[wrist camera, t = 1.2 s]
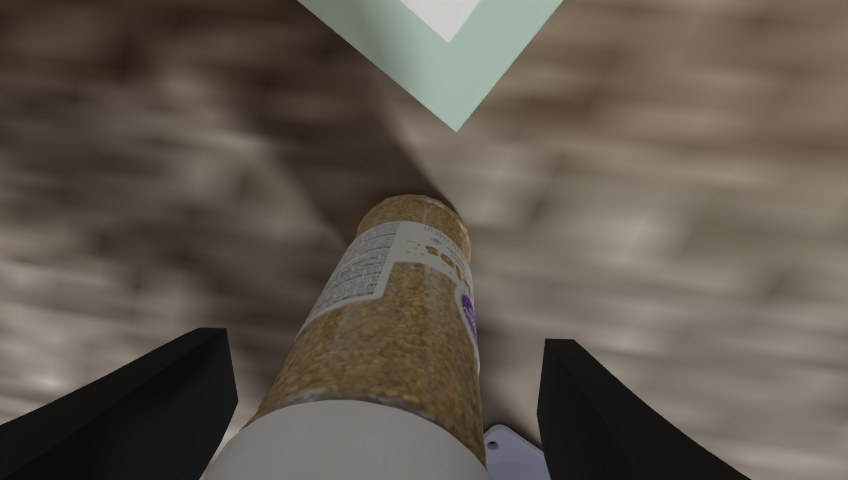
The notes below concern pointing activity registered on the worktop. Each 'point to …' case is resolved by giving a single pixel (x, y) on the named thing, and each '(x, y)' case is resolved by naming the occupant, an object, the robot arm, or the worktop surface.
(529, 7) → the green white square tile
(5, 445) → the robot arm
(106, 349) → the worktop surface
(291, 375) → the sprinkles bottle
